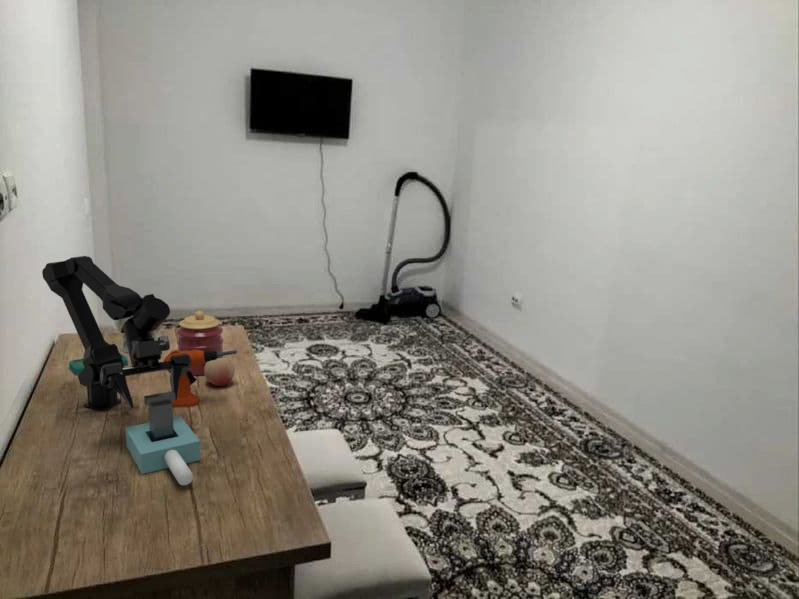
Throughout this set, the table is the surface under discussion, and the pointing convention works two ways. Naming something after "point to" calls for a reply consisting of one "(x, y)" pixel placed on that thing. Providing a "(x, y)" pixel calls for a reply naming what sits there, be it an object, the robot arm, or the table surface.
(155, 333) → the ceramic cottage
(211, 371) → the fruit
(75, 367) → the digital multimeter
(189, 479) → the block
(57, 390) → the table surface
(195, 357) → the toy drill
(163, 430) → the grey t-shaped bar
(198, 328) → the canister
